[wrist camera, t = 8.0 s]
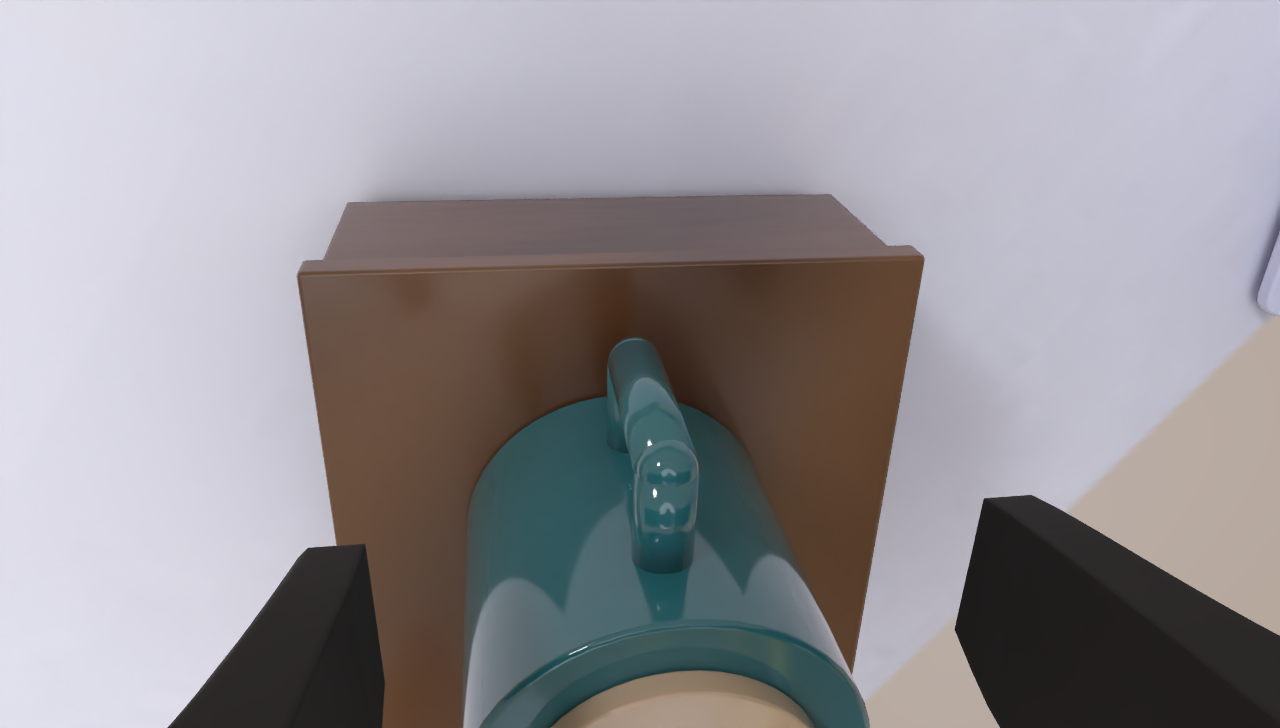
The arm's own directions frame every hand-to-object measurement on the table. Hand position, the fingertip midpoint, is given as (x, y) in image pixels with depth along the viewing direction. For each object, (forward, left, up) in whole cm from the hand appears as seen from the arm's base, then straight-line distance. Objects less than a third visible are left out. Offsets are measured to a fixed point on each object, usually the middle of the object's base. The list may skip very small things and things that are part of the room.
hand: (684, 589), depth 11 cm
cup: (0, +3, -5) cm, 6 cm away
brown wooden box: (0, +3, -10) cm, 11 cm away
